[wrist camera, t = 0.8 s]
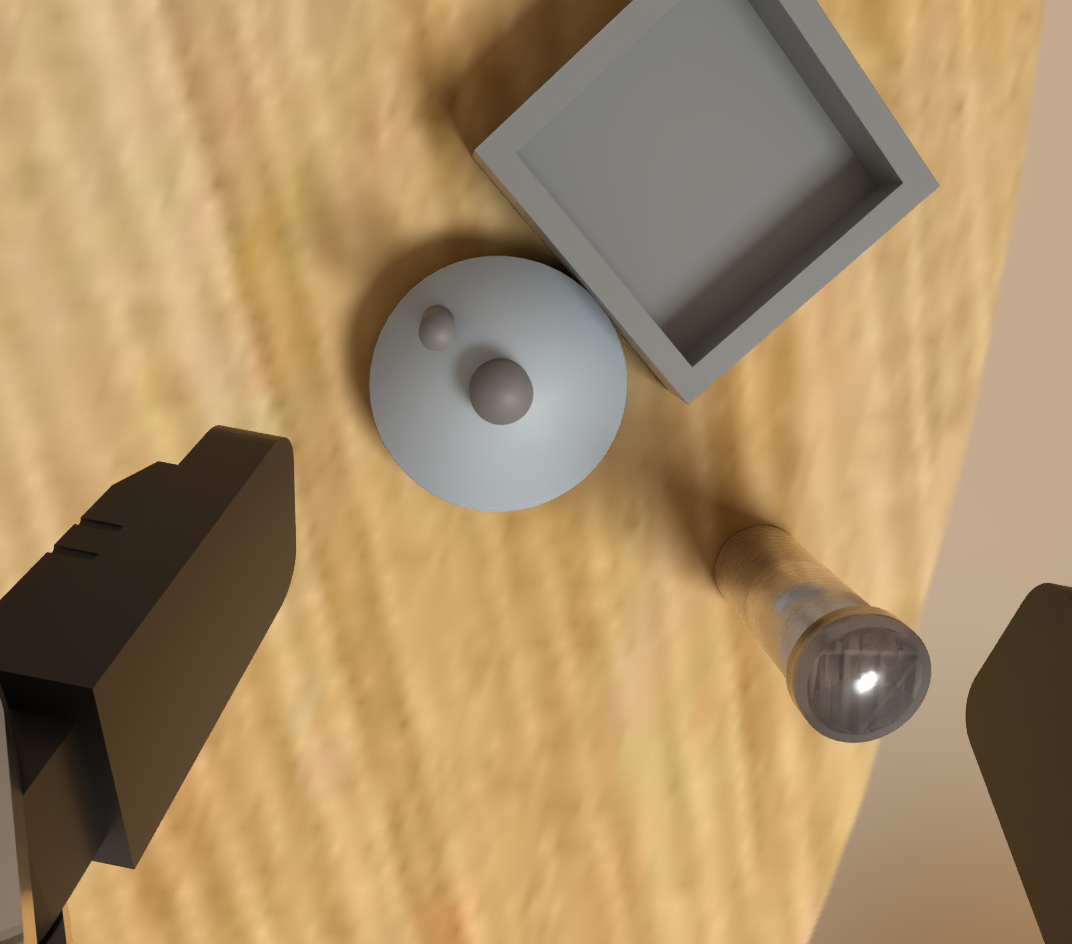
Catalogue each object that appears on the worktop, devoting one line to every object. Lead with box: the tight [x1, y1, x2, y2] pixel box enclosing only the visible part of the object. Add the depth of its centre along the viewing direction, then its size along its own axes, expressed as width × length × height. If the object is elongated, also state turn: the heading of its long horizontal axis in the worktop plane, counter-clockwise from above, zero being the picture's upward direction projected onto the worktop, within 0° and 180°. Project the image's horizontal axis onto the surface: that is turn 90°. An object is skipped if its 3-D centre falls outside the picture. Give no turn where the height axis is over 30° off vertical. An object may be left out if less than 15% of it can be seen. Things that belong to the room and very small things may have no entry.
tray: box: [472, 0, 940, 404], centre depth 31 cm, size 12×12×3 cm
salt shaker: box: [714, 525, 931, 743], centre depth 33 cm, size 5×5×10 cm
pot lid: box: [369, 255, 627, 512], centre depth 31 cm, size 10×10×6 cm
